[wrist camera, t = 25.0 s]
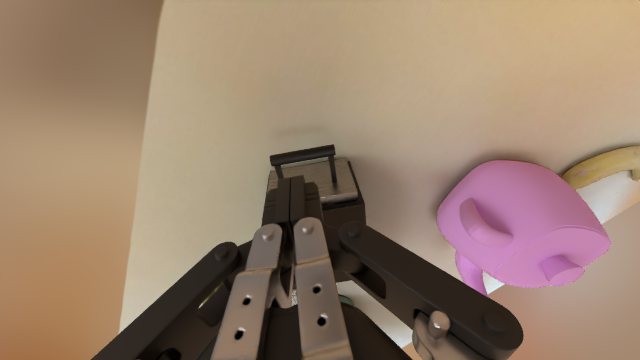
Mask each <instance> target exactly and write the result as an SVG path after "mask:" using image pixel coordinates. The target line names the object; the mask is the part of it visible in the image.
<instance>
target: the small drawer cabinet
mask: <svg viewBox="0 0 640 360" xmlns="http://www.w3.org/2000/svg"><path fill="white" fill-rule="evenodd" d="M347 163H348V166H349V169H350V172H351V175H352V177H353V180H354V183H355V186H356V189H357V194H358V199H357V200H352V201H350V202H347V203H341V204H335V205H329V206H323V207H322V213H323V220H324V222H325V223H326V224H327V225H329V226H332V227H339V228H340V227H341V226H342V225H343V224H345V223H346V222H350V221H359V222H362V223H364V224H365V225H366V213H365V203H364V200H363V197H362V194H361V191H360V189H359V186H358V183H357V180H356V178H355V175H354V172H353V169H352V167H351V164H350V161H348V162H347ZM269 177H270V175H269ZM268 183H269V179H268ZM267 190H268V186H267ZM266 195H267V192H266ZM265 200H266V199H265ZM264 208H265V205H264ZM263 213H264V212H263ZM262 220H263V218H262ZM293 262H294V277H293V289H292V290H295V289H296V278H295V265H296V252H293ZM333 274H334V278H335V282H336V283H337V282H343V281H349V280H351V279H350V278H349V277H348V276H347V275H346V274H345V272H340V271H334V270H333Z"/></svg>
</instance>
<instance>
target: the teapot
mask: <svg viewBox="0 0 640 360" xmlns="http://www.w3.org/2000/svg"><path fill="white" fill-rule="evenodd" d="M437 225H438V228H439V230H440V232H441V233H442V235H443V236H444V237H445V239H446V240H447V241H448V242H449V243H450V244H451V245H452V246H453V247H454V248H455V249H456V253H455V261H456V266H457V269H458V271H459V274H460V276H461V278H462V279H463V281H464V283H465V284H466V285H468V286H470V287H471V288H473V289H475V290H477V291H478V292H480V293H482V294H483V295H485V296H487V292H486V289H485V286H484V283H483V277H482V273H483V271H484V272H486V273H487V274H489V275H490V276H492V277H493V278H495V279H497V280H498V281H501V282H503V283H506V284H509V285H512V286H516V287H525V288H540V287H546V286H549V285H552V286H561V285H565V284H569V283H571V282H574V281H575V280H577V279H579V278H580V277H581V276H582V275H583V273H584V272H585V270H584V269H583V267H585V266H587V265H588V264H590V263H591V262H593V261H594V260H596V259H598V258H599V257H600V256H602V255H603V254H605V253H606V252H607V251H608V250H609V248H610V244H611V241H610V239H609V237H608V235H607V233H606V232H605V230H604V228H603V227H602V225H601V224H600V222H599V221H598V219H597V217H596V216H595V214H594V213H593V212H592V210H591V209H590V208H589V206H588V205H587V203H586V202H585V201H584V200H583V199H582V198H581V196H580V195H579V194H578V193H577V192H576V191H575V190H574V189H573V188H572V187H571V186H570V185H569V184H568V183H566V182H565V181H564V180H563V179H562V178H560V177H559V176H558V175H556V174H555V173H553V172H552V171H550V170H548V169H546V168H544V167H541V166H539V165H536V164H532V163H527V162H520V161H510V160H493V161H488V162H485V163H483V164H480V165H479V166H477V167H476V168H474V169H473V170H472V171H471V172H470V173H469V174H467V175H466V176H465V177H464V178H463V179H462V180H461V181H460V182H459V183H458V184H457V185H456V186H455V187H454V189H453V190H452V191H451V192H450V193H449V194H448V196H447V197H446V198H445V199H444V200H443V202H442V203H441V205H440V206H439V209H438V213H437ZM487 297H488V296H487Z"/></svg>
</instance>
